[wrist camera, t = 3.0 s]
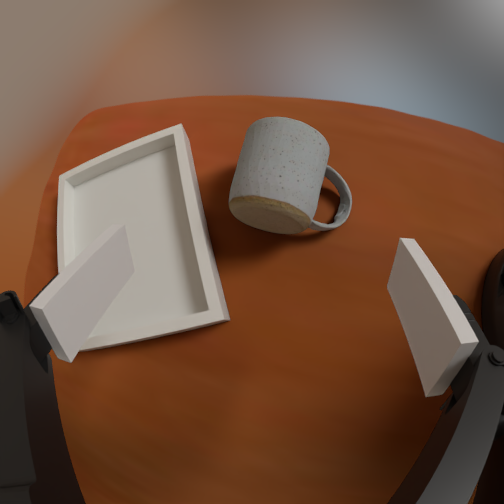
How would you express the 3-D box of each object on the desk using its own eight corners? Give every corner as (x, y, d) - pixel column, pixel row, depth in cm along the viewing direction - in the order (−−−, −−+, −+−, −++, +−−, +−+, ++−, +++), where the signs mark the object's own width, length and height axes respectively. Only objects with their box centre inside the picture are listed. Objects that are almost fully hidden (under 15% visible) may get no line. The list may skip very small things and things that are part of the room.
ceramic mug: (230, 228, 27) (214, 193, 20) (250, 156, 29) (244, 107, 22) (341, 252, 26) (366, 224, 19) (351, 176, 28) (372, 132, 21)
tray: (188, 139, 31) (181, 123, 28) (230, 320, 25) (224, 319, 22) (72, 186, 31) (59, 175, 28) (86, 351, 25) (68, 352, 23)
